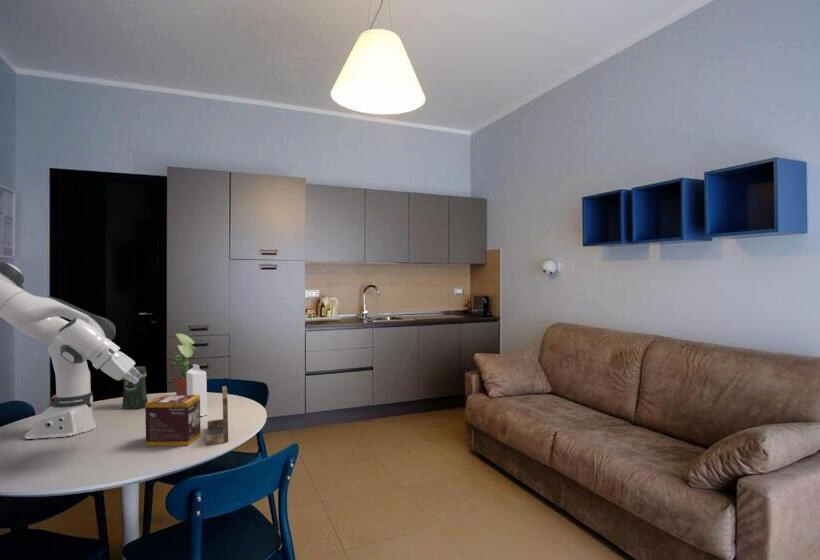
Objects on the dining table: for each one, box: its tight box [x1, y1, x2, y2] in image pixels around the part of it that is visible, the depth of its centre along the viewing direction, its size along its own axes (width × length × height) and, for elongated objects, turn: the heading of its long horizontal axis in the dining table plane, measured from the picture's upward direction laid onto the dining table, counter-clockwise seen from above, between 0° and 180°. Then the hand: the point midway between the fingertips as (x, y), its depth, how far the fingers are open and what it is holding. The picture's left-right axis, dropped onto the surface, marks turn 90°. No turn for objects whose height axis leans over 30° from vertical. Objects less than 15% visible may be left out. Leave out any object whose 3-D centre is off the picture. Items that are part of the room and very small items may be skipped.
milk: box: [186, 363, 208, 417], centre depth 204 cm, size 6×6×22 cm
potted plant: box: [170, 332, 196, 395], centre depth 220 cm, size 16×15×35 cm
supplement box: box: [144, 394, 202, 447], centre depth 174 cm, size 10×15×16 cm
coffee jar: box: [121, 365, 149, 410], centre depth 218 cm, size 10×8×19 cm
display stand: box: [205, 385, 229, 446], centre depth 180 cm, size 7×19×16 cm, turn 22°
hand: (138, 380), depth 170 cm, fingers open, 6 cm apart
